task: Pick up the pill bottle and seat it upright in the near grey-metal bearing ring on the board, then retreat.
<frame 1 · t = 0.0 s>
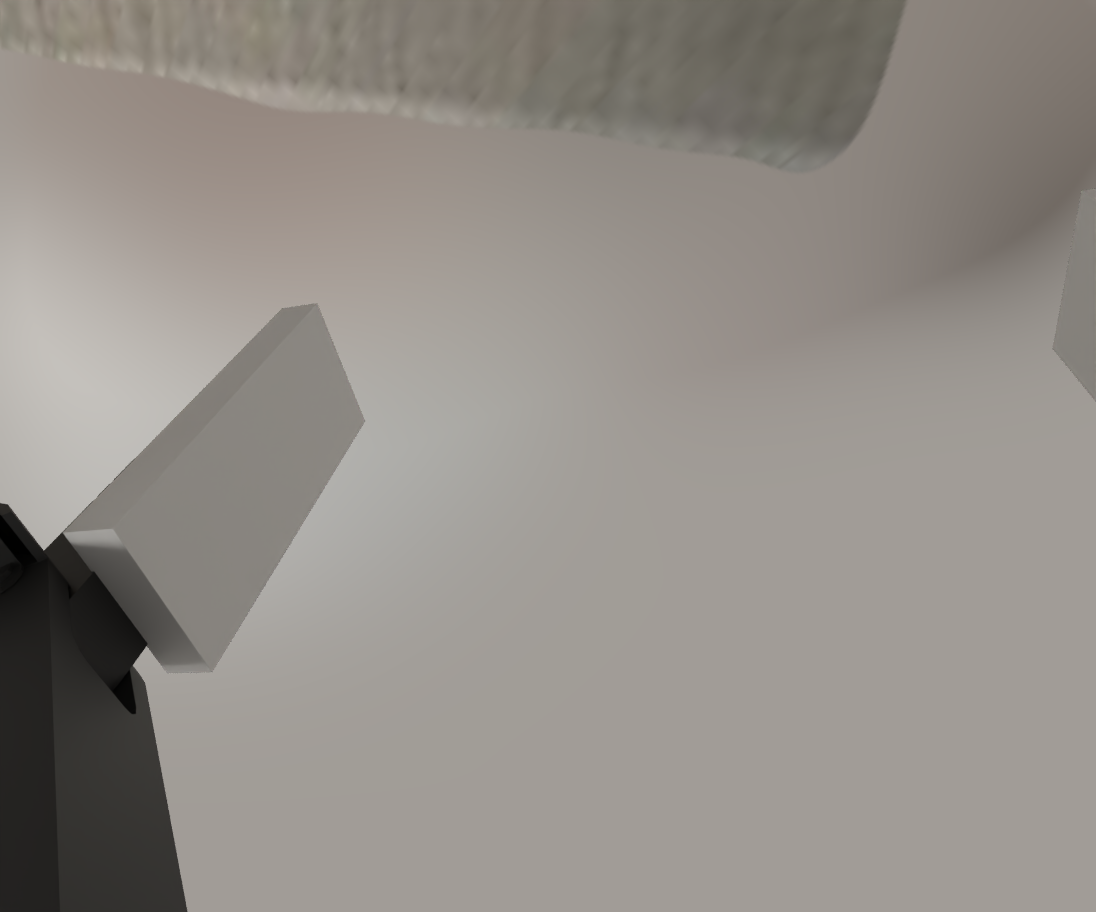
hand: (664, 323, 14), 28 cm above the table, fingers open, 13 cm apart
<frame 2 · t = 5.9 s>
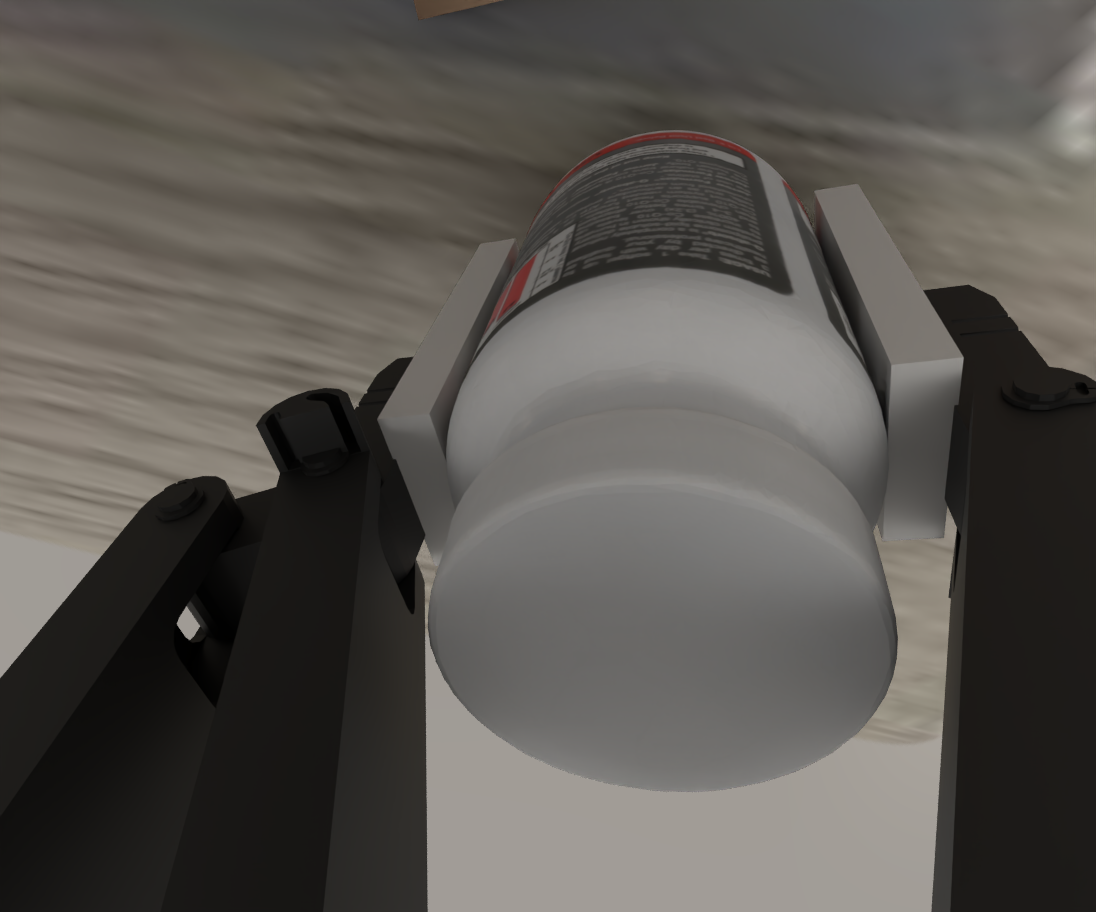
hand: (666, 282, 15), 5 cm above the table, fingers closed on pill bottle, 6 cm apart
pill bottle: (666, 267, 16), point 4 cm above the table, touching gripper
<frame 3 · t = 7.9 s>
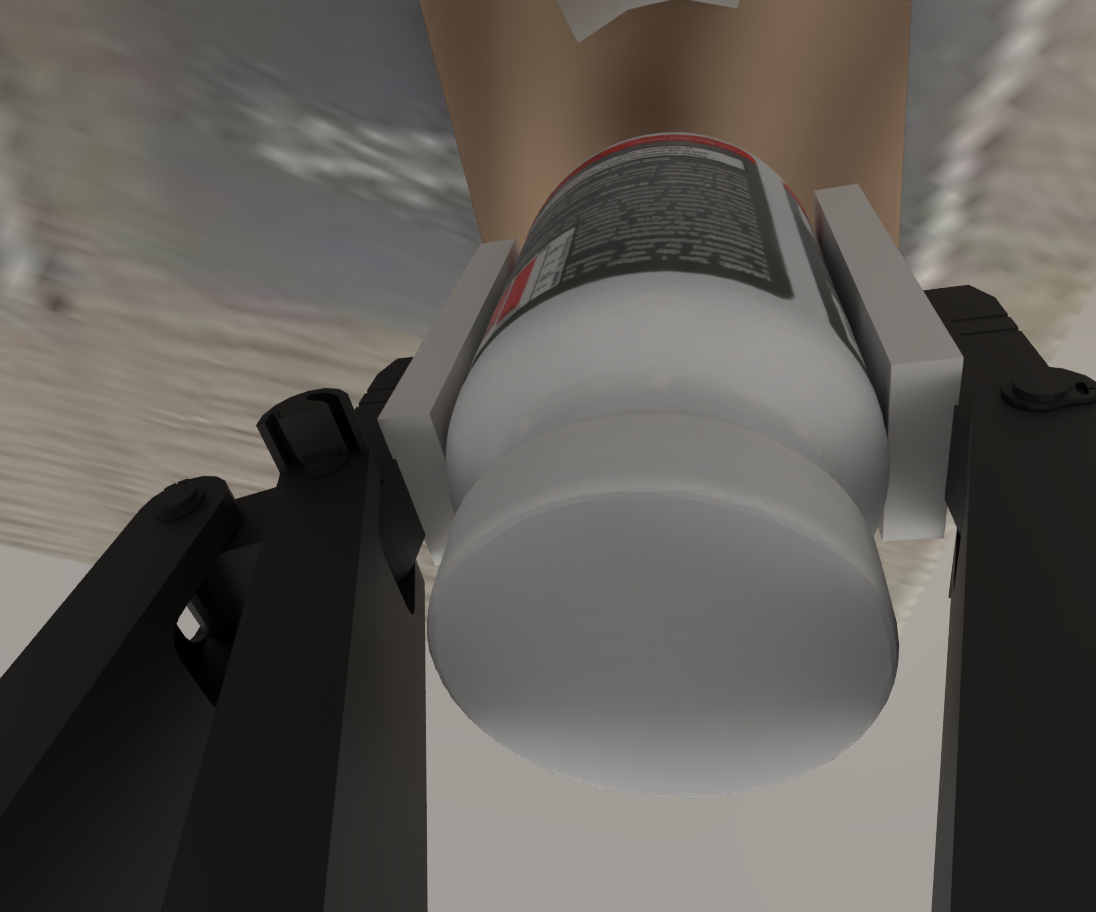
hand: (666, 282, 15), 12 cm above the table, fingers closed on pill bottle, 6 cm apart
pill bottle: (666, 270, 16), point 12 cm above the table, touching gripper
when the fingers open (2 cm above the table, at t = 10.0 s): pill bottle stays where it is, resting on board.
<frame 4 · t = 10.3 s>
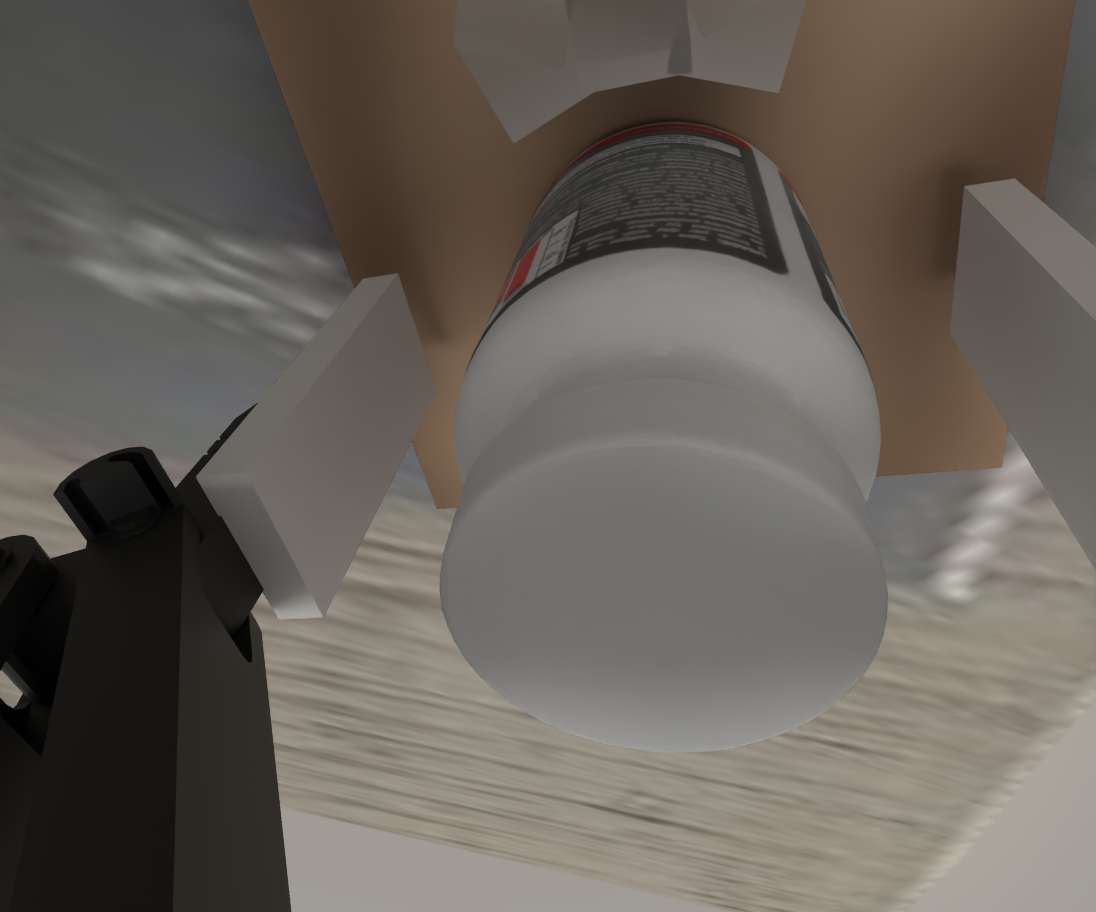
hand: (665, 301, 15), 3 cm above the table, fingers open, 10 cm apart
pill bottle: (666, 257, 16), point 1 cm above the table, touching board
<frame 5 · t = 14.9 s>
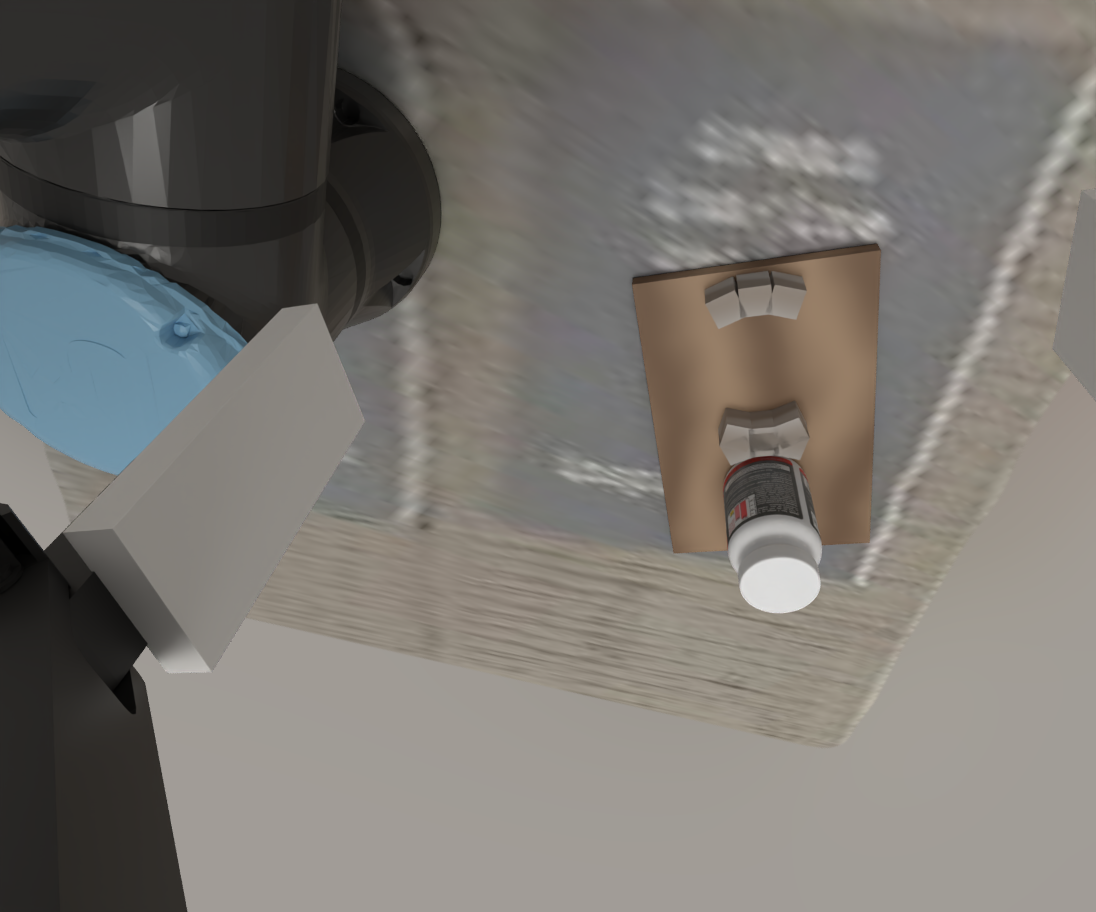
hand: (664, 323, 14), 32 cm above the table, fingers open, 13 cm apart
pill bottle: (764, 481, 53), point 1 cm above the table, touching board
board: (760, 416, 51), on the table
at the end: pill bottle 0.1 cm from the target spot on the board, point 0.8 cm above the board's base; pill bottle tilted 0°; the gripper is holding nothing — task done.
